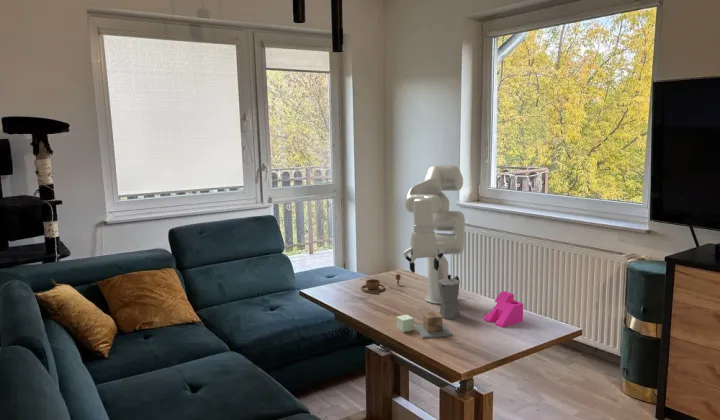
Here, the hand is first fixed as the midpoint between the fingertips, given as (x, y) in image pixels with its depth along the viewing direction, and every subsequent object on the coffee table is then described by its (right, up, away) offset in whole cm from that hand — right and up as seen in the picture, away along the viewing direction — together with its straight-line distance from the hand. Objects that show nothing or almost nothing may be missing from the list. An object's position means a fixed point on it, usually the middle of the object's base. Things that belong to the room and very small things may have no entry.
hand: (424, 270), depth 209 cm
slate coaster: (+3, -24, -2) cm, 24 cm away
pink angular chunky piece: (+33, -22, +7) cm, 41 cm away
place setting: (-15, -16, +55) cm, 59 cm away
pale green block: (-8, -24, +1) cm, 25 cm away
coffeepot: (+13, -21, +16) cm, 29 cm away
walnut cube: (+3, -23, -2) cm, 23 cm away
